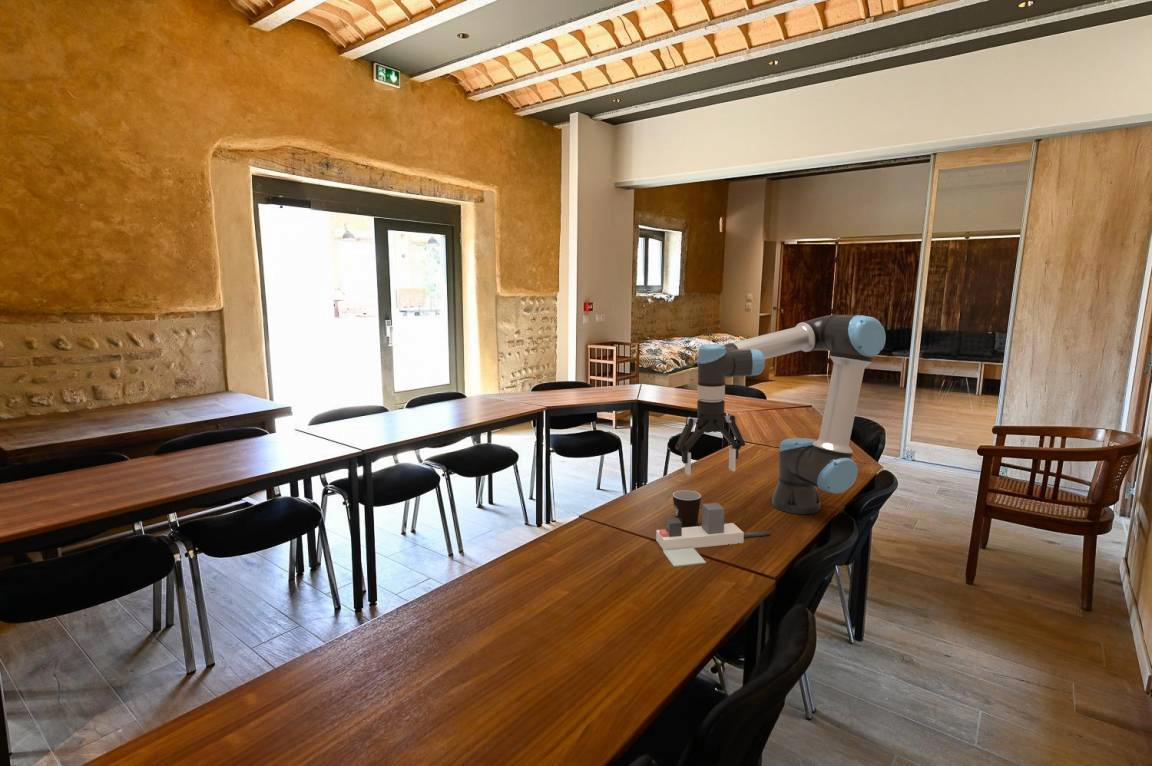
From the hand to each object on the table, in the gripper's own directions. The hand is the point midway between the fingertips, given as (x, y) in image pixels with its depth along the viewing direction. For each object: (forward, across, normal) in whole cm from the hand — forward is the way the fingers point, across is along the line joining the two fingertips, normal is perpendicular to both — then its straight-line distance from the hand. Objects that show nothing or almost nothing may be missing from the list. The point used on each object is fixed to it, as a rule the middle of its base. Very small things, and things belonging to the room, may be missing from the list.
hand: (710, 472), depth 163 cm
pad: (+21, +11, +9) cm, 25 cm away
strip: (+21, -2, +1) cm, 21 cm away
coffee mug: (+21, +2, -12) cm, 24 cm away
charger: (+21, -1, +1) cm, 21 cm away
